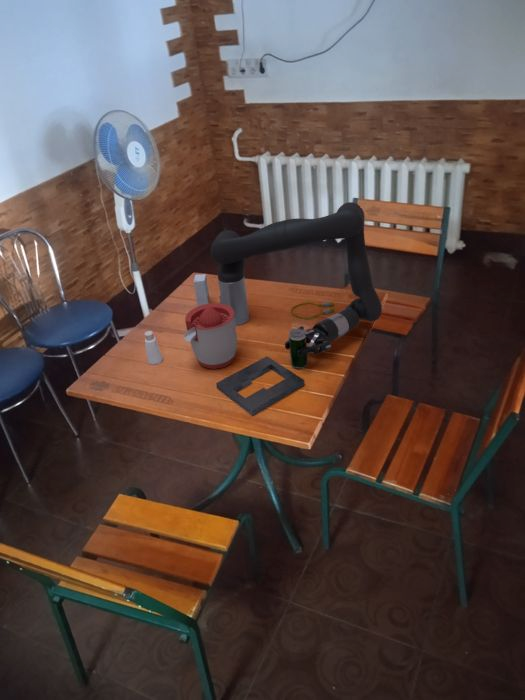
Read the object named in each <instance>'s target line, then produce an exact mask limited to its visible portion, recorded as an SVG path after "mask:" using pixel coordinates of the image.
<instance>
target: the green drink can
mask: <svg viewBox="0 0 525 700" xmlns="http://www.w3.org/2000/svg"><path fill="white" fill-rule="evenodd" d="M288 341H289V346H290V348H289V355H290V364H291V366H292V367H293V368H294V369H297V370H300V369H304V368H306V367H307V366H308V363H309V362H308V360H309V359H308V358H309V357H308V353H307V354H306V355H304V356H301V357H299V356H298V354H297V351H298V350H299V349H301V348H303V347H305V346H308V343H307V341H306V333H305V331H304V330H303V329H298V328H294V329H291V330H290V331H289V332H288Z"/></svg>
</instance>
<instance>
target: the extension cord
mask: <svg viewBox="0 0 525 700" xmlns="http://www.w3.org/2000/svg"><path fill="white" fill-rule="evenodd" d="M334 304H335V303H334V301H326V302H323V303H321V304H319V303H318V304H317V303H314V302H303V303H298V304H295V306H292V308H290V313H291V315H292V316H293V317H295V318H298V319H302V320H306V321H307V320H313V319H316V318H317V317H319V316H321V315H327V314H328V315H329V314H331V313H333V312H334V311H335V309H334ZM300 305H301V306H304V305H314V306H317V307H319V308H320V312H319V313H318V314H316V315H313V316H308V317H306V316H300V315H298V314H295V313H294V312H293V311H294V310H295V309H296V308H298V307H300ZM297 306H298V307H297ZM322 307H328V308H326V309H324V310H323V308H322Z"/></svg>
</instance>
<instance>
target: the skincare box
mask: <svg viewBox="0 0 525 700" xmlns="http://www.w3.org/2000/svg"><path fill="white" fill-rule="evenodd" d="M193 279H194V280H193V287H194V292H195V293H194V294H195V297H196V303H197V304H196V305H197V307H198V306H201V305H205V304H210V303H211V299H210V297H211V296H210V291H209V284H208V279H207V274H206V273H202V274H195V276H194V278H193Z"/></svg>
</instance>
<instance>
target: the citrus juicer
mask: <svg viewBox="0 0 525 700" xmlns="http://www.w3.org/2000/svg"><path fill="white" fill-rule="evenodd" d="M234 314H235V313H234V310H233V309H232V308H231V307H230V306H228V305H225V304H221V303H217V302H216V303H215V302H213V303H211V302H210V304H205V305H201V306H198V305H197V306H196V307H194V308H192V309H191V310H189V312H187V314H186V315H185V318H184V319H185V321H184V322H185V327H186V332H185V333H184V337H183V338H184V341H186V342H188V343H190V345H191V350H192V351H193V354H194V356H195V357H196V360H197V361H198V363H199V364H200V365H201V366H203V367H204V368H205V369H206V368H207V369H212V370H216V369H221V368H222V369H223V368H224V367H227V366H228V365H230V364H231V363H232V362H233V361H234V359H235V357H236V354H237V347H238V334H237V328H236V326H237V325H235V319H234Z"/></svg>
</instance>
